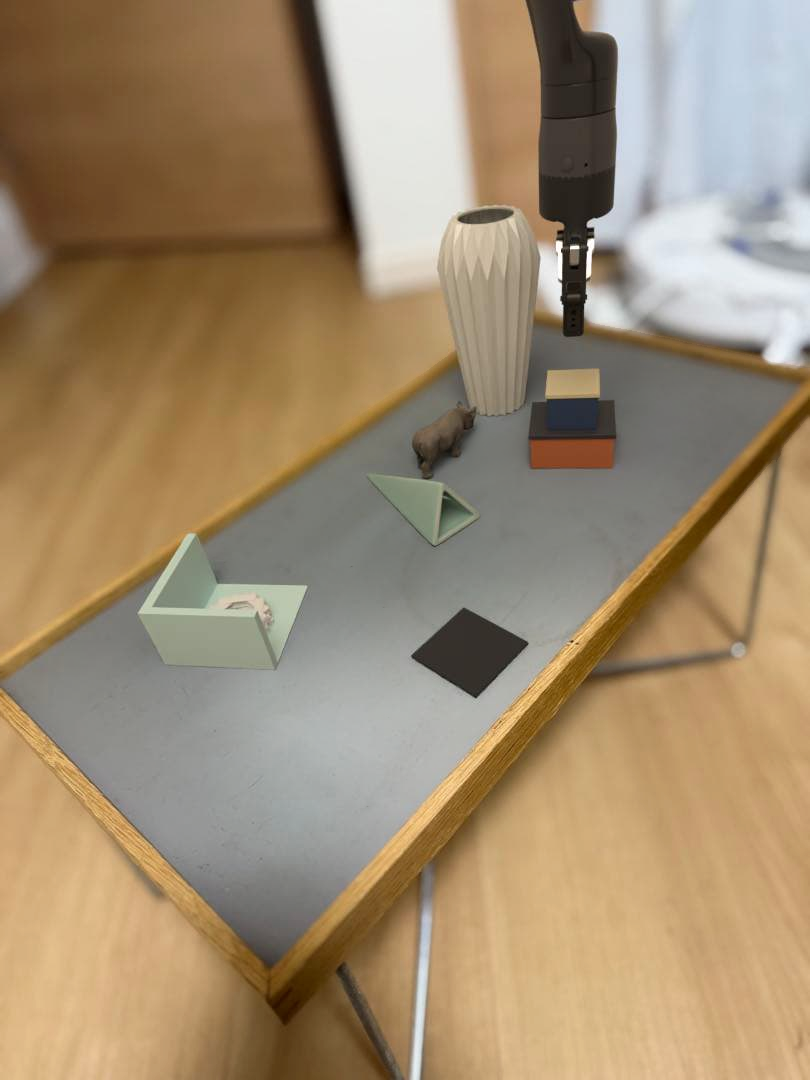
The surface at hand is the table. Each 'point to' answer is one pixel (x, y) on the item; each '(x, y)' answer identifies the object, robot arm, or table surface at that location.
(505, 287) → the vase
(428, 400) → the table surface
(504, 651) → the mat
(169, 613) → the right angle wall
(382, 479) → the planter
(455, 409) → the rhino figurine
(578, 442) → the bottom container
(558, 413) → the top container
